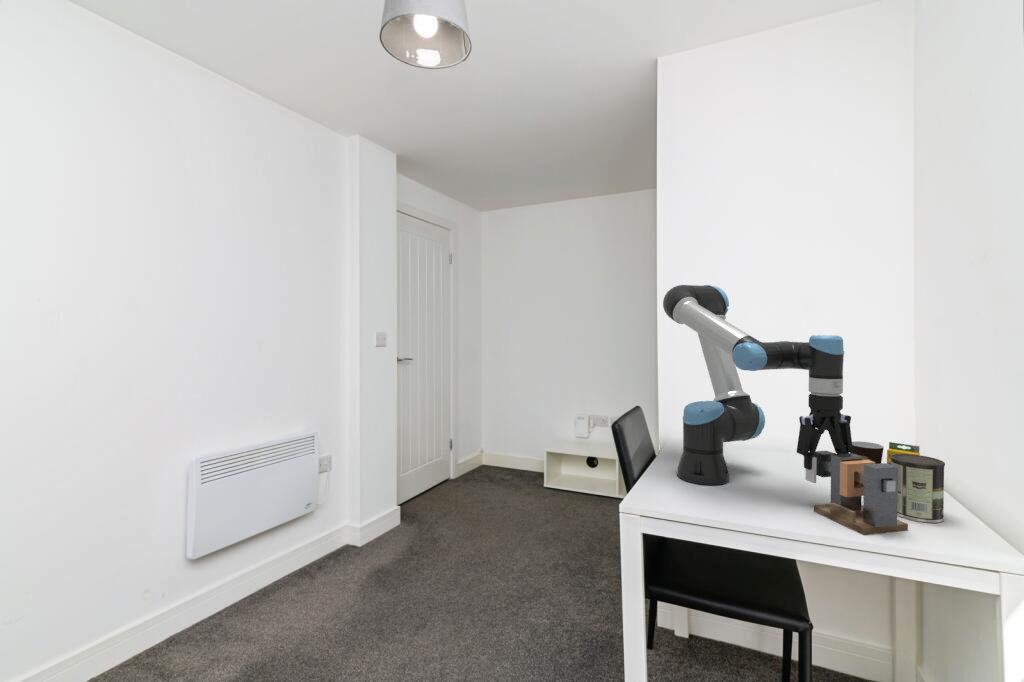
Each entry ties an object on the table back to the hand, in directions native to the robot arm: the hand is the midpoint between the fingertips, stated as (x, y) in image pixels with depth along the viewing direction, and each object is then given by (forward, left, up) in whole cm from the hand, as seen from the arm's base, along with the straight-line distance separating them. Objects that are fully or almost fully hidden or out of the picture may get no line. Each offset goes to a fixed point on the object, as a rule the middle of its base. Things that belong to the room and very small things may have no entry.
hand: (824, 480), depth 124 cm
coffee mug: (-19, +32, -7) cm, 38 cm away
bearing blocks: (+11, 0, -5) cm, 12 cm away
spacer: (+10, 0, 0) cm, 10 cm away
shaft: (+8, 0, +1) cm, 8 cm away
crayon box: (-10, +37, -7) cm, 39 cm away
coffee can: (+10, +17, -7) cm, 21 cm away
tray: (+10, 0, -7) cm, 12 cm away
